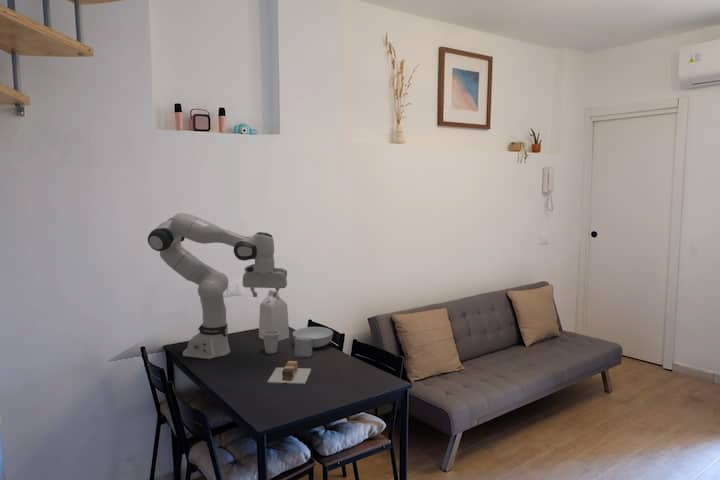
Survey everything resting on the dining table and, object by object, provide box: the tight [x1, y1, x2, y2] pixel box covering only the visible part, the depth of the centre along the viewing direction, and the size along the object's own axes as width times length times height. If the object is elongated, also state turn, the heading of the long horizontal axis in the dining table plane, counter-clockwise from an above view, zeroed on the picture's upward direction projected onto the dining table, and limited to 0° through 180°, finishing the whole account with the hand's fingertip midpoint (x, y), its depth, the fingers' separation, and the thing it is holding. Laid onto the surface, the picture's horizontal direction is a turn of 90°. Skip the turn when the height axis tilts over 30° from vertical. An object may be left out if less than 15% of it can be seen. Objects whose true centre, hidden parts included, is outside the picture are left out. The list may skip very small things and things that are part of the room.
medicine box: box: [293, 337, 313, 358], centre depth 239 cm, size 8×4×9 cm, turn 84°
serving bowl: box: [292, 326, 334, 349], centre depth 255 cm, size 21×21×7 cm
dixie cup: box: [262, 330, 280, 354], centre depth 244 cm, size 8×8×10 cm
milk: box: [258, 289, 290, 342], centre depth 265 cm, size 12×12×26 cm
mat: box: [267, 367, 312, 385], centre depth 214 cm, size 16×16×1 cm
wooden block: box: [282, 360, 298, 381], centre depth 214 cm, size 12×4×4 cm, turn 176°
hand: (265, 297), depth 227 cm, fingers open, 8 cm apart
